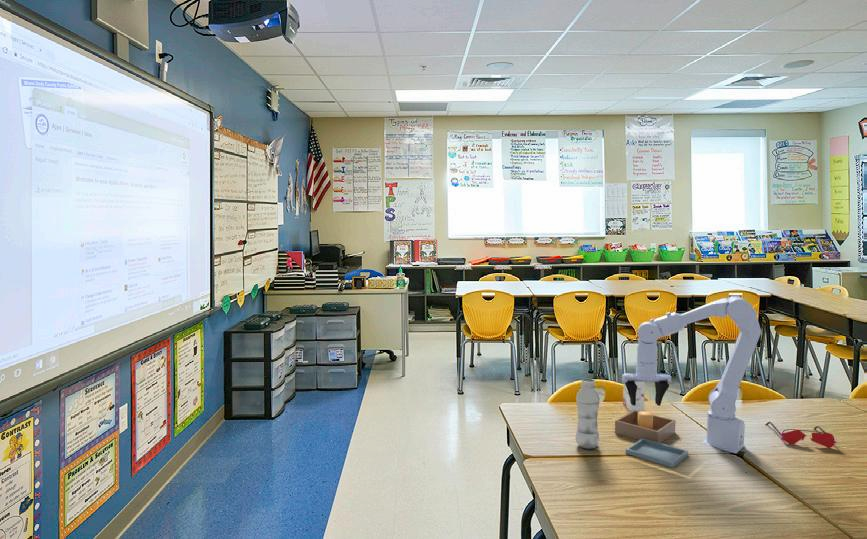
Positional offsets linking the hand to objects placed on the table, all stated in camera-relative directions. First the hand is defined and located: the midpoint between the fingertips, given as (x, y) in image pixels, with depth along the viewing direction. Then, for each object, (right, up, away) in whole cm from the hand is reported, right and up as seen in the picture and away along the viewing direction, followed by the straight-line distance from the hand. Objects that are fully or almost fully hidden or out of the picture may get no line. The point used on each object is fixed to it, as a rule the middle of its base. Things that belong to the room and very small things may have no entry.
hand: (645, 404), depth 164 cm
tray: (-3, -11, -15) cm, 19 cm away
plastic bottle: (-20, -11, -8) cm, 24 cm away
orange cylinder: (0, -9, +1) cm, 9 cm away
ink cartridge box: (+5, -8, +24) cm, 26 cm away
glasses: (+47, -10, -1) cm, 48 cm away
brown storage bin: (0, -10, +1) cm, 10 cm away
